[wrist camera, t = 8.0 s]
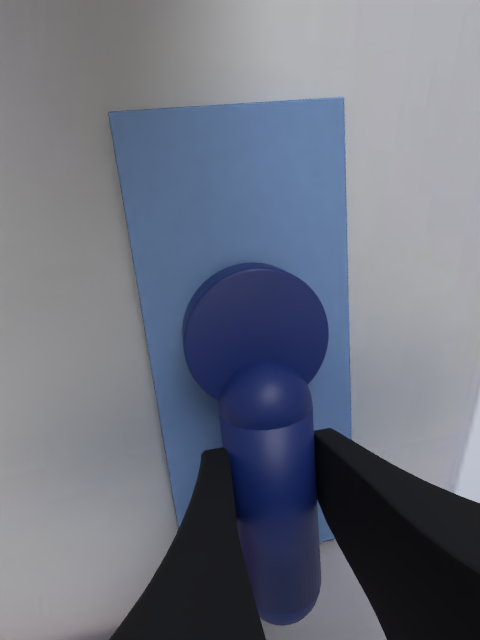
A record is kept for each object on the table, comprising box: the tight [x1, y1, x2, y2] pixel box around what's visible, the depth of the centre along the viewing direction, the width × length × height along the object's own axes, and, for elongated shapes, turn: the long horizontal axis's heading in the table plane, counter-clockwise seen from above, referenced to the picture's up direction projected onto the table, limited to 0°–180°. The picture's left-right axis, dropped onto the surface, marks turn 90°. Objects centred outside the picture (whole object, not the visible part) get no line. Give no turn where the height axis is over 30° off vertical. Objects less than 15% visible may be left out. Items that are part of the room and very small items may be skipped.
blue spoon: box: [182, 262, 329, 625], centre depth 11 cm, size 11×4×3 cm, turn 5°
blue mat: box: [108, 97, 352, 542], centre depth 13 cm, size 15×6×1 cm, turn 6°
